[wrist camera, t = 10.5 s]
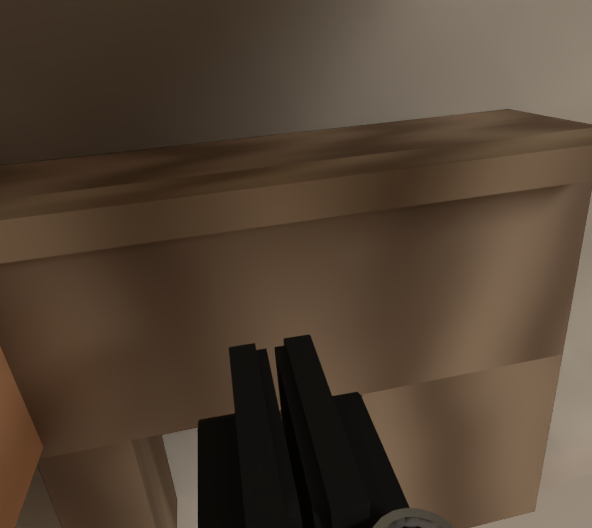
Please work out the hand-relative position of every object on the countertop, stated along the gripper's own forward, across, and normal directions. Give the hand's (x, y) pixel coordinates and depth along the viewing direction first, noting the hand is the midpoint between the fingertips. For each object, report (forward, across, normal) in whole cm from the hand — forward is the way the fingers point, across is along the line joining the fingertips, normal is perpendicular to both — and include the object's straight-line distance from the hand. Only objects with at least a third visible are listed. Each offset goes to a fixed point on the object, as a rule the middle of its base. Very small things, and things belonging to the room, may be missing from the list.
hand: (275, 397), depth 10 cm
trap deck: (+10, +3, +5) cm, 12 cm away
